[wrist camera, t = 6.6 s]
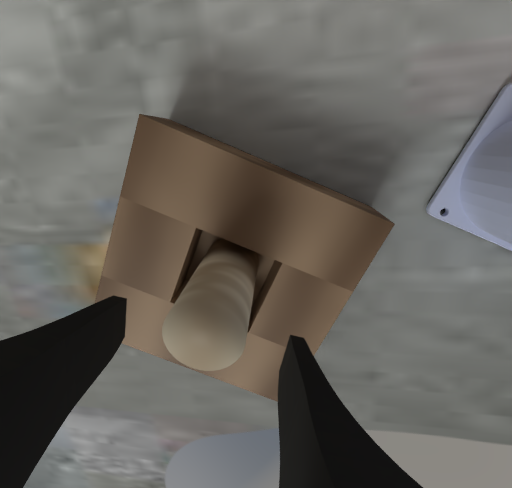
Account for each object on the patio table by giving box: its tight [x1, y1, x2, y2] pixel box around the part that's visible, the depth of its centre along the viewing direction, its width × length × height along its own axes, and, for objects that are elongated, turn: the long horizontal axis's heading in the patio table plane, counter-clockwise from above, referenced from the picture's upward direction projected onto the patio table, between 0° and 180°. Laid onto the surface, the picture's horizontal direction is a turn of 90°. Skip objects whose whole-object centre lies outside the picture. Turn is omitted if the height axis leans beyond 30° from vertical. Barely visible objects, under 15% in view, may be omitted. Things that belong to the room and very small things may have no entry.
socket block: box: [95, 114, 394, 402], centre depth 19 cm, size 14×14×4 cm
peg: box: [162, 238, 258, 371], centre depth 16 cm, size 4×4×8 cm
